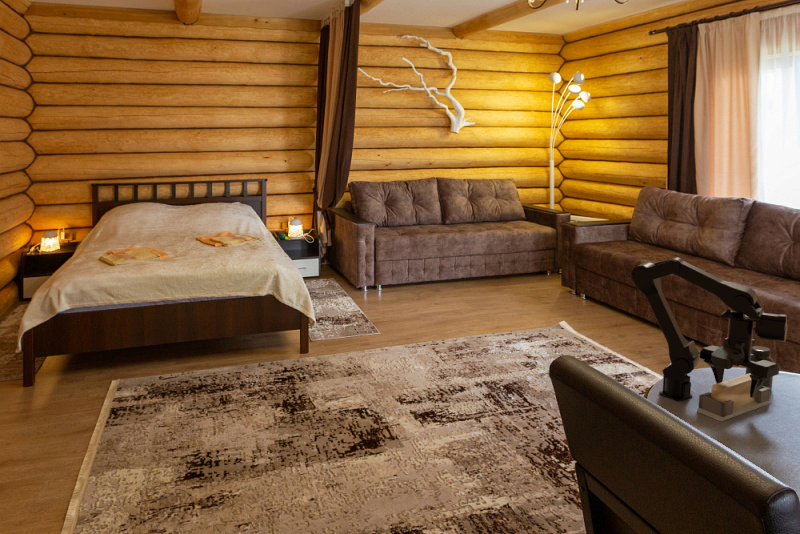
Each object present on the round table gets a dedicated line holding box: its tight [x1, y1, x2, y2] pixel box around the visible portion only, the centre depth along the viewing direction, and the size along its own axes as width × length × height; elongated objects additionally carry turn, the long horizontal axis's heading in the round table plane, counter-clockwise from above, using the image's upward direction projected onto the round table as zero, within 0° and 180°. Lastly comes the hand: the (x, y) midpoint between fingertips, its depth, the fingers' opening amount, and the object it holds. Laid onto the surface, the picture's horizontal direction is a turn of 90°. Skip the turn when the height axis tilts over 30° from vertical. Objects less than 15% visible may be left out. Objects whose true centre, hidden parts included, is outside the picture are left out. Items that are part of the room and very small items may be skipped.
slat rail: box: [696, 385, 772, 422], centre depth 166 cm, size 7×21×4 cm, turn 119°
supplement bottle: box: [745, 345, 775, 392], centre depth 178 cm, size 7×7×12 cm
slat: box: [710, 373, 758, 408], centre depth 166 cm, size 3×16×6 cm, turn 119°
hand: (735, 391), depth 166 cm, fingers open, 9 cm apart
